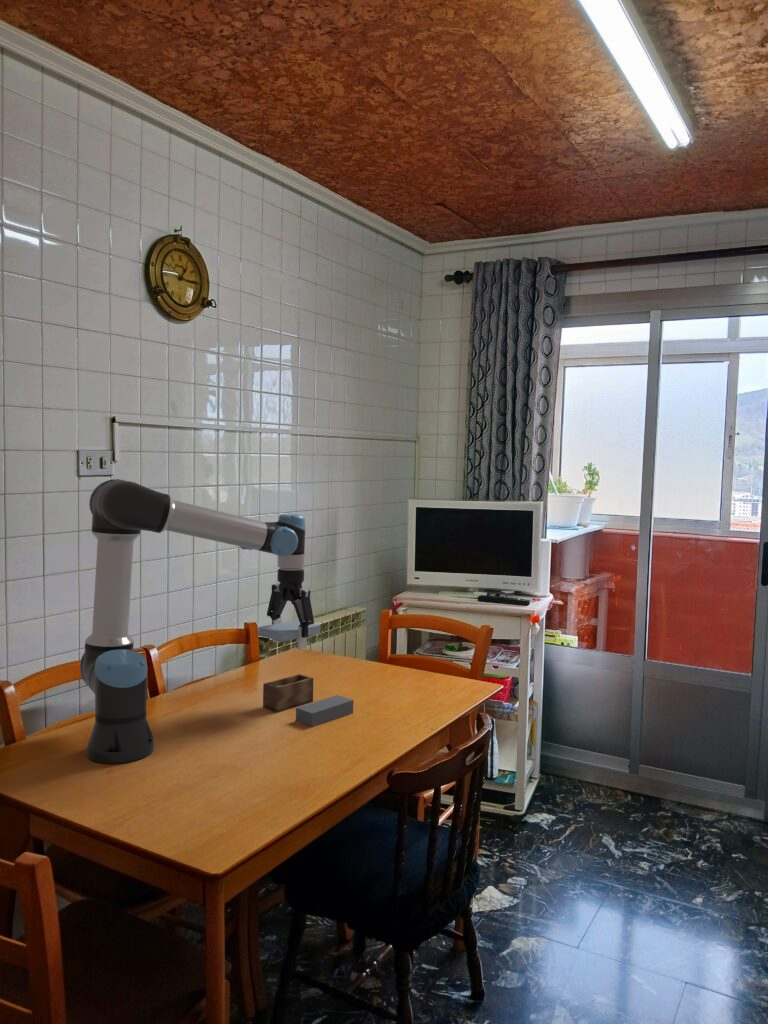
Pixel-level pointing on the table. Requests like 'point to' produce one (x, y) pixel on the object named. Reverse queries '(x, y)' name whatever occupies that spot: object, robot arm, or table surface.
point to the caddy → (287, 693)
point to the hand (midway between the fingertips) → (289, 644)
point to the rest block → (324, 710)
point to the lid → (286, 630)
